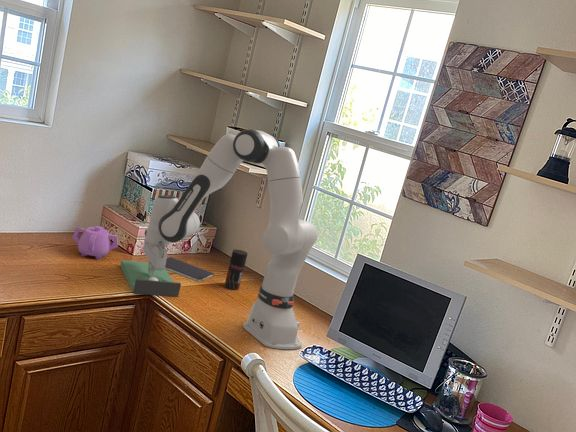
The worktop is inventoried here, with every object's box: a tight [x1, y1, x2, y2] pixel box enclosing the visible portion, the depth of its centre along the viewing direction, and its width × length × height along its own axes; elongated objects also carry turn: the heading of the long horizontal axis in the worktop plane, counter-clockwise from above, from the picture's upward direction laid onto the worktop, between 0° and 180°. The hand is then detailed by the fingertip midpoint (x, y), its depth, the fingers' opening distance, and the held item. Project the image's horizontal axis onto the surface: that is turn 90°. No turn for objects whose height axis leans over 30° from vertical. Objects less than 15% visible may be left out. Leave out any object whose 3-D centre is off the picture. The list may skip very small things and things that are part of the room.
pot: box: [71, 225, 119, 260], centre depth 233 cm, size 18×17×12 cm
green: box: [119, 259, 182, 298], centre depth 221 cm, size 27×16×5 cm, turn 26°
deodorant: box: [223, 249, 248, 291], centre depth 237 cm, size 6×6×15 cm
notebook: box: [165, 256, 215, 282], centre depth 244 cm, size 13×2×21 cm
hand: (150, 273), depth 221 cm, fingers closed
